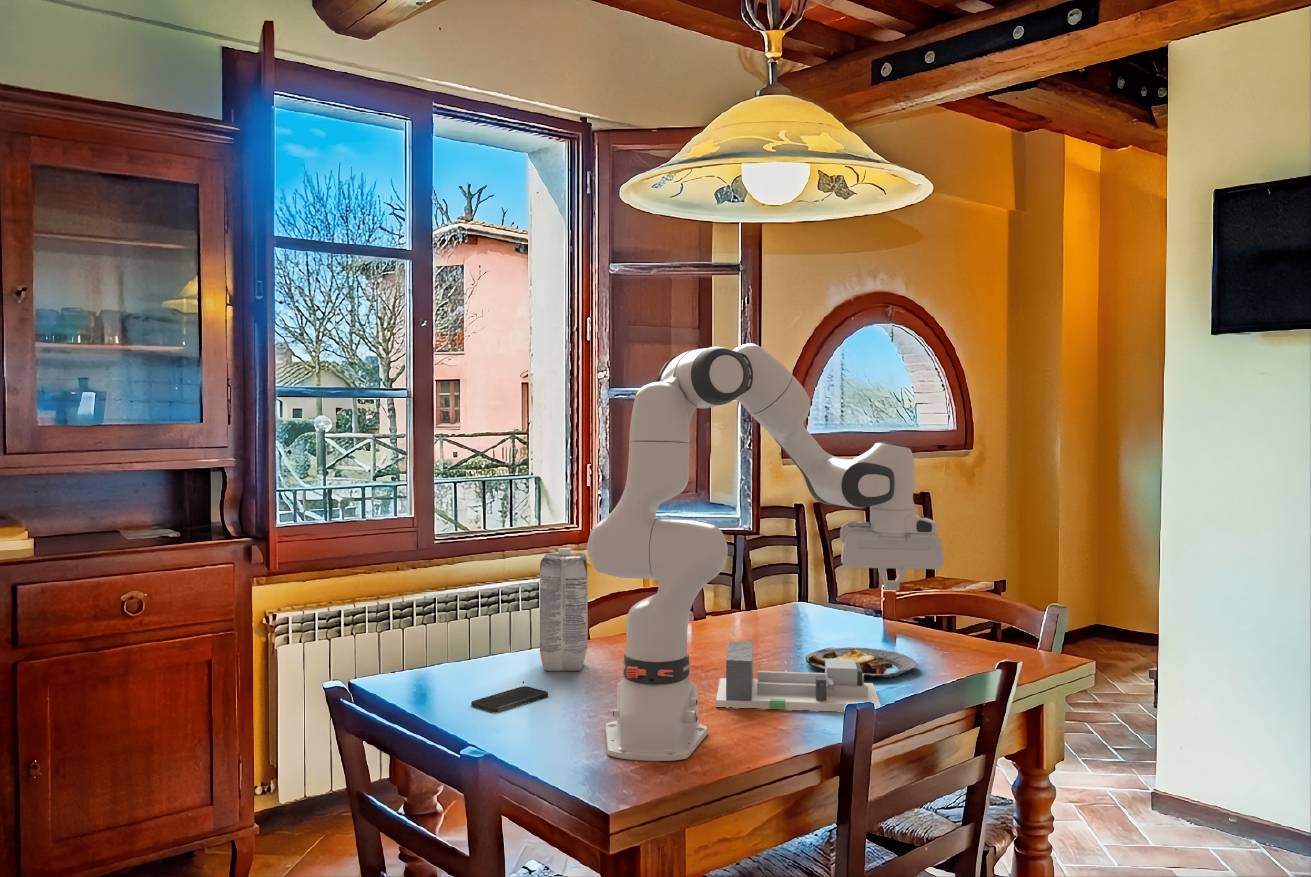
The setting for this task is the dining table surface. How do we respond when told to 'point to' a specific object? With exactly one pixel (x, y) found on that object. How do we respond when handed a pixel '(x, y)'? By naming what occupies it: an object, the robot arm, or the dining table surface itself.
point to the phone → (509, 699)
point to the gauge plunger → (842, 673)
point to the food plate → (865, 660)
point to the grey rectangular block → (739, 671)
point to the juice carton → (563, 610)
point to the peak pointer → (820, 688)
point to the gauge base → (797, 693)
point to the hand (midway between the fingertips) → (891, 589)
